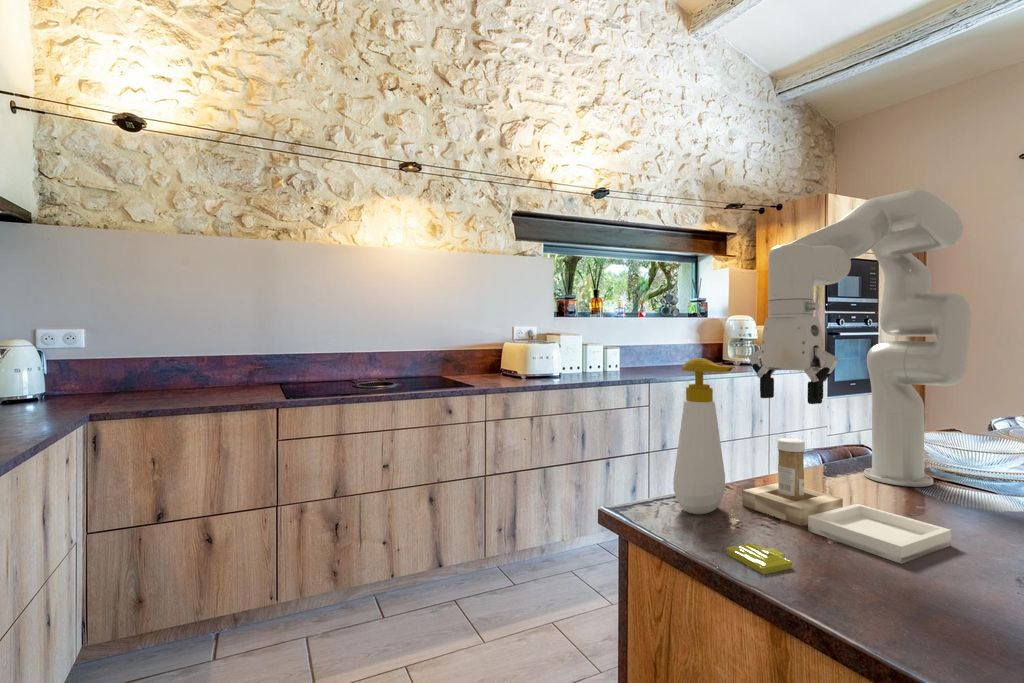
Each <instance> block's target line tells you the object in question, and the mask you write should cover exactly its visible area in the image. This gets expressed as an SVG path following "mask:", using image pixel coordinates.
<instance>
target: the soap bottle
mask: <svg viewBox="0 0 1024 683" xmlns="http://www.w3.org/2000/svg"><path fill="white" fill-rule="evenodd" d="M733 368H734V366H728V365H726V366H725V365H724V366H723V365H719V364H716V363H715V362H713V361H712V360H709V359H708V358H703V357H695V358H692V359H689V360H688V361H686V362H685V363H684V364H683V365H682V366H681V371H684V372H694V383H689V384H688V386H687V387H685V400H684V401H683V407H682V414H681V420H680V430H679V436H678V444H677V451H676V458H675V466H674V472H673V484H672V485H673V492H674V494H675V495H674V496H675V499H676V501H677V502H678V504H679V506H680V507H681V508H682V510H683V511H685V512H686V513H689V514H691V515H706V514H709V513H712V512H713V511H715V510H716V509H717V508H718V507H719V505H720V504H721V502H722V500H723V498H724V497H723V496H724V493H725V491H726V473H725V466H724V458H723V454H722V453H723V452H722V444H721V437H720V431H719V430H720V429H719V424H718V415H717V409H716V408H717V407H716V402H715V401H714V398H713V396H714V395H713V392H714V391H713V390H714V388H713V387H710V386H711V385H710V384H708V383H704V372H713V373H714V372H715V373H718V372H719V373H729V372H732V370H733Z"/></svg>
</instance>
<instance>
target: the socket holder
mask: <svg viewBox="0 0 1024 683" xmlns="http://www.w3.org/2000/svg"><path fill="white" fill-rule="evenodd" d="M741 492H742V495H741V499H742V503H741V505H742V506H743V507H746V508H747V509H751V510H755V511H756V512H760V513H763V514H765V513H766V515H768V514H769V515H768V516H770V517H771V516H772V517H774V516H775V518H776V519H777V518H778V519H779V520H783V521H785V520H786V522H788V521H789V523H791V524H795V525H798V526H802V527H803V526H806V525H808V516H811V515H815V514H819V513H823V512H826V511H830V510H834V509H838V508H842V507H844V506H843V505H844V504H843V502H844V499H843V497H838V496H835V495H830V494H827V493H824V492H821V491H816V490H812V489H809V488H807V487H806V488H805V487H804V500H801V501H797V502H795V501H792V500H789V499H786V498H782V497H779V491H778V482H776V483H771V484H767V485H766V484H765V485H761V486H757V487H755V486H754V487H752V488H746V489H742V491H741Z"/></svg>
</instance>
